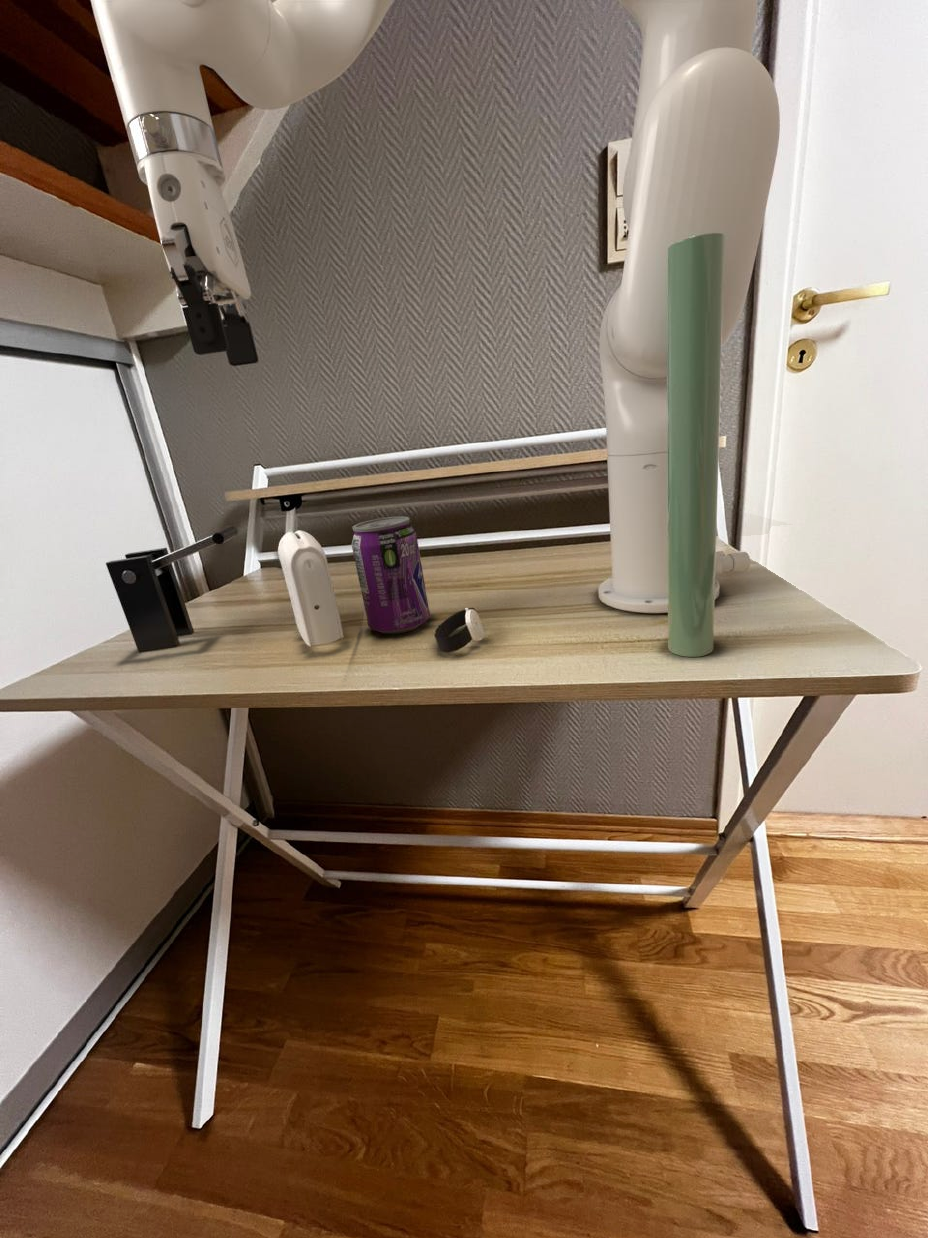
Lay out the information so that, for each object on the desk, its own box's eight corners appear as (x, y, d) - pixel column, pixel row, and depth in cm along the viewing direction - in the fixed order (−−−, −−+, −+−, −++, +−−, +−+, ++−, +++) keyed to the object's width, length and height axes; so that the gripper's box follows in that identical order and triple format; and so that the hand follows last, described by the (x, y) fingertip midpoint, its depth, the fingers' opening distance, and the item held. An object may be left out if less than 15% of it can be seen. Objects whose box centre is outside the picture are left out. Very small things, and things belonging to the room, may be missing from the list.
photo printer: (350, 647, 57) (324, 533, 53) (310, 659, 56) (280, 542, 51) (331, 622, 66) (308, 522, 62) (296, 631, 65) (270, 530, 60)
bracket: (217, 635, 67) (188, 543, 63) (197, 654, 62) (164, 555, 58) (145, 646, 67) (111, 554, 63) (119, 666, 61) (80, 567, 57)
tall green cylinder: (700, 637, 48) (707, 247, 38) (721, 653, 45) (735, 229, 34) (661, 643, 48) (657, 253, 38) (679, 659, 45) (680, 236, 34)
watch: (475, 657, 51) (470, 621, 49) (427, 658, 52) (421, 623, 50) (489, 626, 58) (485, 594, 56) (447, 628, 59) (442, 597, 57)
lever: (242, 538, 63) (231, 519, 62) (229, 546, 58) (217, 526, 58) (147, 579, 63) (135, 560, 63) (127, 589, 59) (114, 570, 58)
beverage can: (421, 636, 57) (402, 525, 53) (360, 639, 59) (336, 532, 55) (437, 613, 64) (421, 512, 60) (382, 616, 66) (362, 519, 62)
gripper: (178, 101, 42) (238, 341, 48) (247, 192, 59) (285, 363, 64) (83, 113, 42) (155, 352, 48) (178, 201, 58) (223, 372, 64)
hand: (229, 358), depth 56 cm, fingers open, 9 cm apart
